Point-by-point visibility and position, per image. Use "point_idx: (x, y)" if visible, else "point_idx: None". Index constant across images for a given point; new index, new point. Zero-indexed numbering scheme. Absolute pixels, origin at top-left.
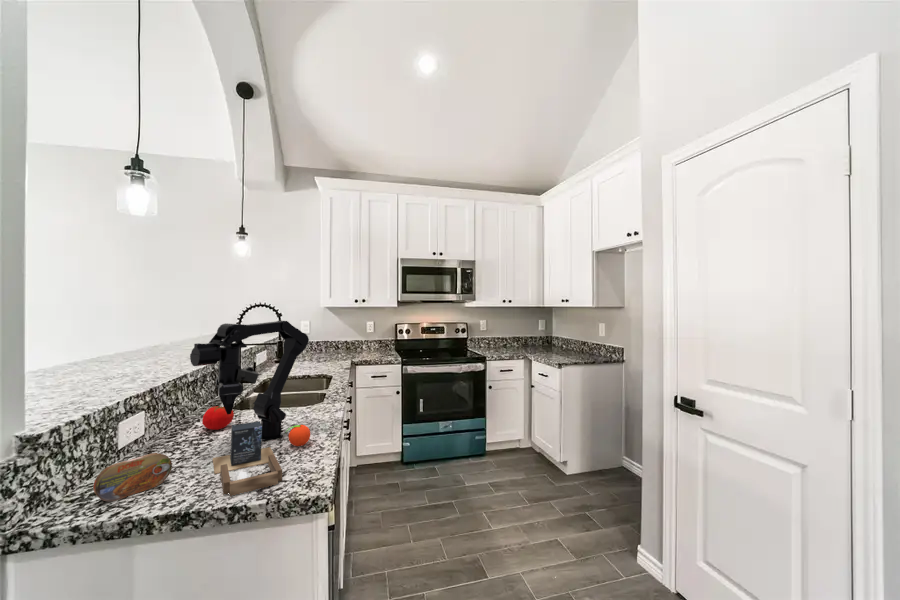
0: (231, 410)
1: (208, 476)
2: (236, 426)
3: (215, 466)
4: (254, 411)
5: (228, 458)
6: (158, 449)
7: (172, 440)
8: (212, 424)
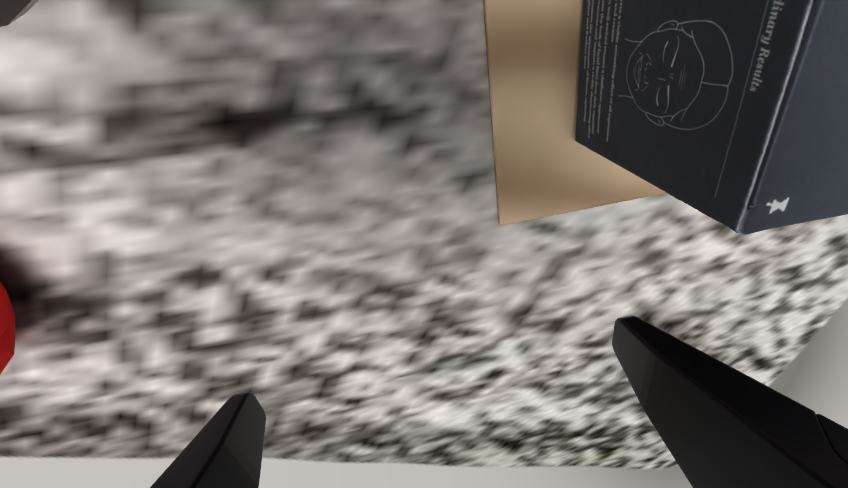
0: (677, 343)
1: None
2: (836, 186)
3: (620, 195)
4: (23, 13)
5: (550, 151)
6: (291, 418)
7: (182, 410)
8: (1, 332)
